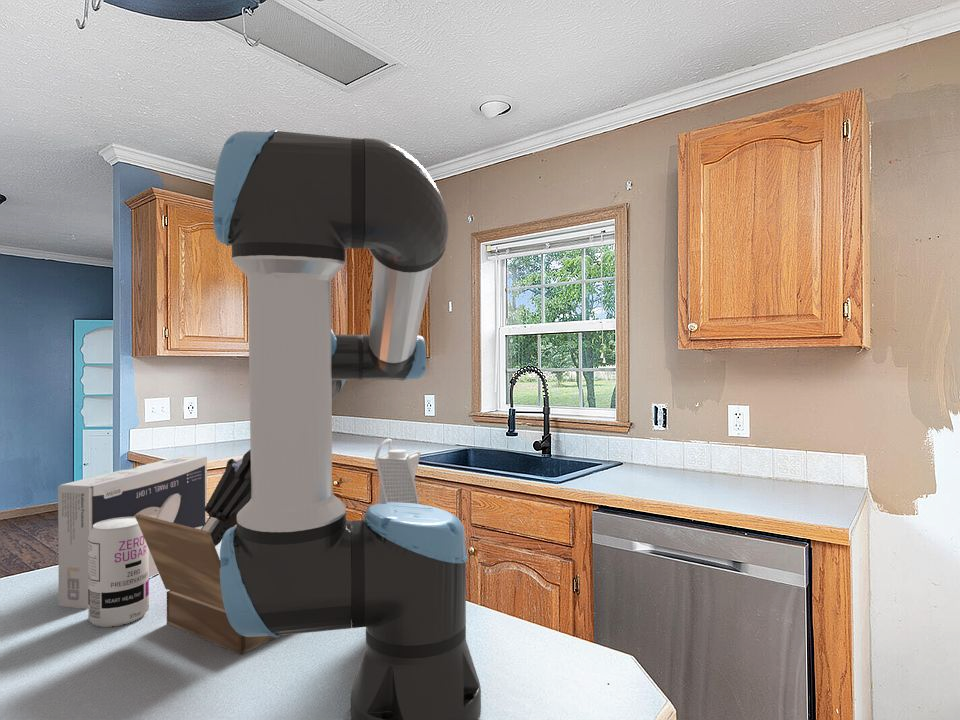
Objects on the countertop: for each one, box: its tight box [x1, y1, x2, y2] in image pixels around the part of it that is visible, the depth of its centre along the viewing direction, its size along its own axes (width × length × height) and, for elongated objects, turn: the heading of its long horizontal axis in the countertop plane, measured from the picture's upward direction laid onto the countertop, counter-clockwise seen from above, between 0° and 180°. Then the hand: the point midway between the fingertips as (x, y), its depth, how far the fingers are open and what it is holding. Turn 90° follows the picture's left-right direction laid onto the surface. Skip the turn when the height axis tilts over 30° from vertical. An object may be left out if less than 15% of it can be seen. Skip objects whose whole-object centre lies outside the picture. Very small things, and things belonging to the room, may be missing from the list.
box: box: [166, 590, 278, 655], centre depth 95 cm, size 14×18×5 cm
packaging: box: [57, 455, 208, 609], centre depth 115 cm, size 30×6×20 cm, turn 168°
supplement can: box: [87, 517, 150, 628], centre depth 96 cm, size 8×8×15 cm
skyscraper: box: [374, 437, 421, 504], centre depth 95 cm, size 8×8×28 cm
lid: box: [135, 514, 225, 610], centre depth 87 cm, size 1×17×13 cm, turn 58°
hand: (191, 561), depth 88 cm, fingers closed
